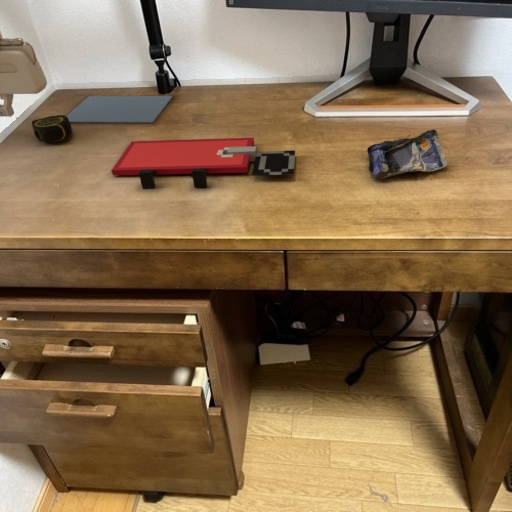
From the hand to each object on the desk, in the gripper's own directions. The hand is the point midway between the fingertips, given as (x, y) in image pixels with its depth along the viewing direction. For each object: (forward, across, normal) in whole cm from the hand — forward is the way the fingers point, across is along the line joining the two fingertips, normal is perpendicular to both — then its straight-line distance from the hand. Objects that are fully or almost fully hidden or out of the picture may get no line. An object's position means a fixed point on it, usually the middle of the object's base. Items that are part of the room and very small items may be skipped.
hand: (5, 115), depth 95 cm
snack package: (+5, -73, +10) cm, 74 cm away
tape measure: (+5, -8, 0) cm, 10 cm away
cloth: (+5, -16, -14) cm, 22 cm away
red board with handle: (+5, -41, +10) cm, 43 cm away
